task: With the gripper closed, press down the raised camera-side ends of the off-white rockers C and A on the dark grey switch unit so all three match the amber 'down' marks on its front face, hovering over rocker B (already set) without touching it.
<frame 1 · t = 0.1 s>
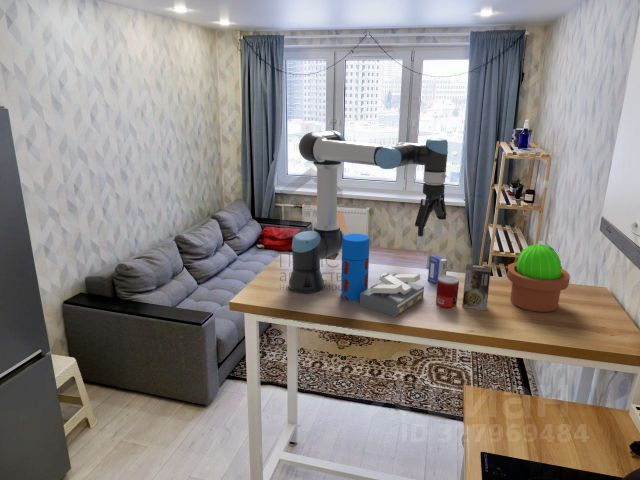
hand: (429, 240, 171), 28 cm above the table, fingers open, 13 cm apart
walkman: (436, 283, 204), on the table
rocker c: (404, 277, 188), point 8 cm above the table, hinge at -15.0°
coffee box: (474, 306, 182), on the table
rocker a: (385, 288, 178), point 8 cm above the table, hinge at -15.0°
potted cactus: (533, 303, 185), on the table
rocker b: (395, 282, 183), point 8 cm above the table, hinge at 15.0°
canned food: (446, 305, 183), on the table
thermos: (354, 295, 191), on the table
switch unit: (392, 301, 186), on the table
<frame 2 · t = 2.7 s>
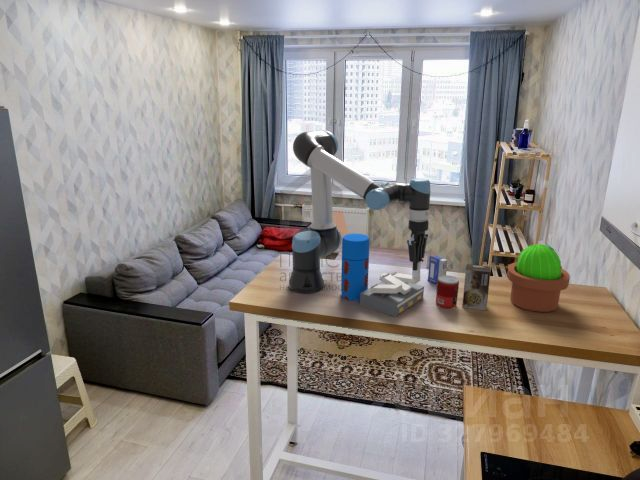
hand: (416, 277, 184), 10 cm above the table, fingers closed
rocker c: (404, 277, 188), point 8 cm above the table, hinge at -7.3°, touching gripper
everything else where it was.
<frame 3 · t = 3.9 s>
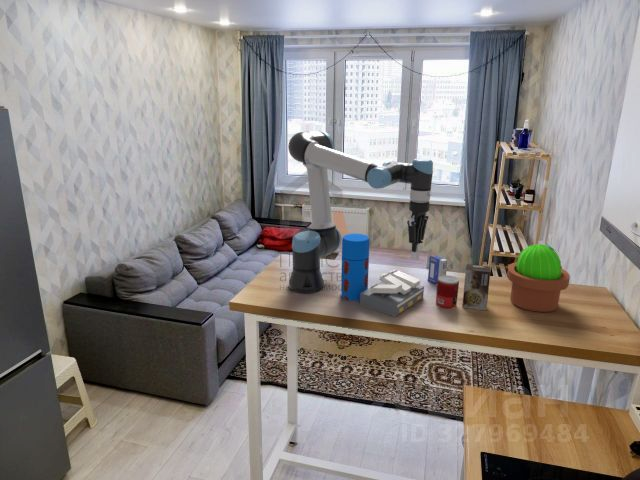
hand: (414, 258, 183), 17 cm above the table, fingers closed
rocker c: (404, 277, 188), point 8 cm above the table, hinge at 8.7°
everything else where it was.
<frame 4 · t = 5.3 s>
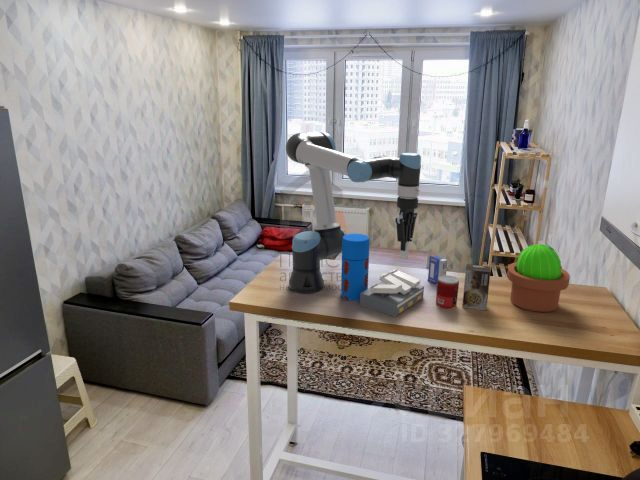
hand: (403, 257, 175), 20 cm above the table, fingers closed
rocker c: (404, 277, 188), point 8 cm above the table, hinge at 9.0°
everything else where it was.
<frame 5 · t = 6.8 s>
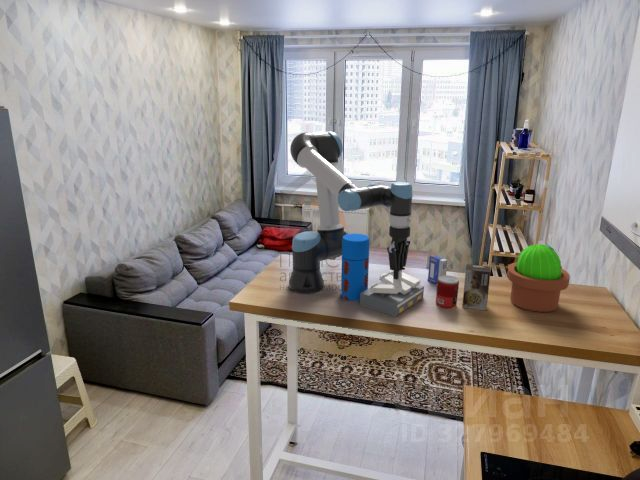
hand: (397, 286, 174), 10 cm above the table, fingers closed
rocker a: (385, 288, 178), point 8 cm above the table, hinge at -13.9°, touching gripper
everything else where it was.
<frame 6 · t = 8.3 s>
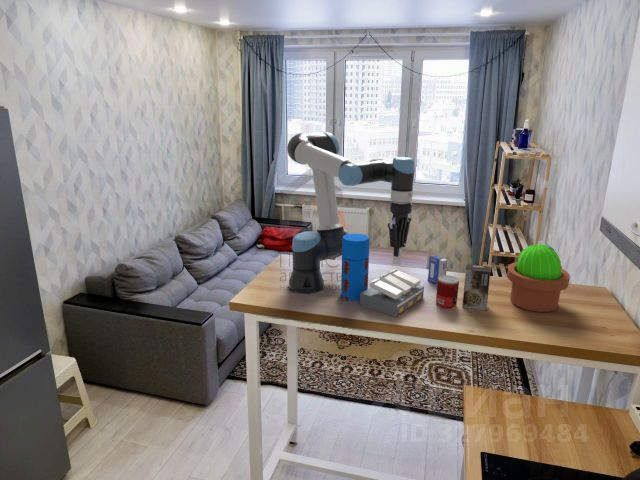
hand: (397, 263, 172), 19 cm above the table, fingers closed
rocker a: (385, 288, 178), point 8 cm above the table, hinge at 9.2°
everything else where it was.
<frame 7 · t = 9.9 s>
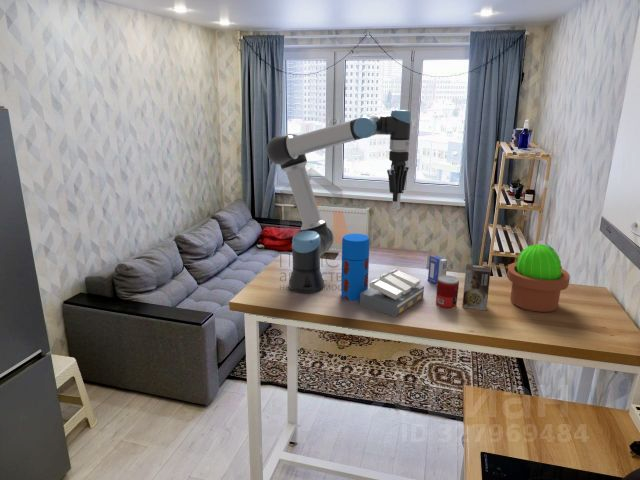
hand: (396, 208, 190), 34 cm above the table, fingers closed
nothing on the table moved.
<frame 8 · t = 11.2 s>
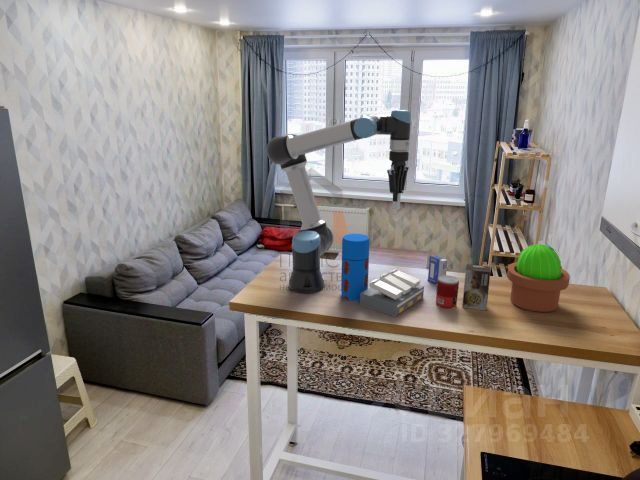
hand: (396, 208, 190), 34 cm above the table, fingers closed
nothing on the table moved.
at the end: rocker c at +9° (first picture: -15°); rocker a at +9° (first picture: -15°); rocker b at +15° (first picture: +15°) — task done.
